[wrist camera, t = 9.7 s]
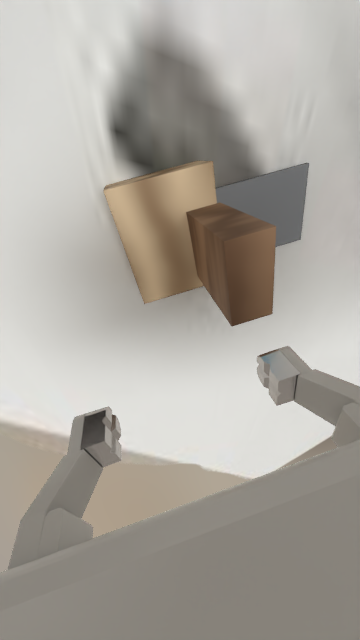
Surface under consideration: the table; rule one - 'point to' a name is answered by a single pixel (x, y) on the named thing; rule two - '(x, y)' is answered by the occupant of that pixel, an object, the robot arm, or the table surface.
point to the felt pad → (272, 200)
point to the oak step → (161, 225)
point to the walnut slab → (234, 260)
